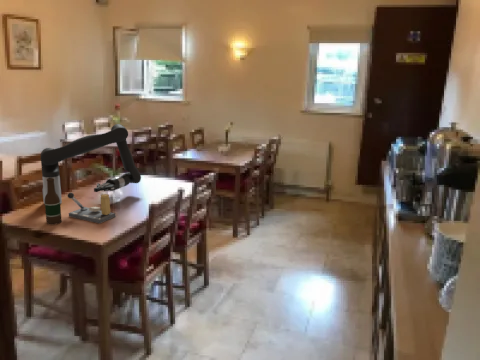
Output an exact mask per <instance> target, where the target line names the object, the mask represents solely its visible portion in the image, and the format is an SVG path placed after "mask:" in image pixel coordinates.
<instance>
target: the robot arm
mask: <svg viewBox="0 0 480 360" xmlns="http://www.w3.org/2000/svg"><path fill="white" fill-rule="evenodd" d="M128 137H129V131H128V130H127V128H126V127H125V126H124V125H122V124H120V123H117V124H116V123H115V124H114V125H113V126H111V129H110V131H107V132H104V133H100V134H99V133H98V134H97V133H96V134H89V135H85V136H83V137H80V138H77V139H74V140H73V141H71V142H68V143H67V144H66V145H63V146H61V147H56V148H51V147H46V148H44V149H43V150H41V152H40V164H41V166H40V167H41V174H42V199H43V204H44V205H45V196H46V194H47V178H54V187H55V192H56V193H57V195H58V196H59V199H60V205H61V204H62V202H63V200H62V189H61V177H60V166H59V163H60V162H62V161H65V160H67V159H69V158H73V157H76V156H80V155H83V154H86V153H89V152H91V151H92V152H93V151H95V150H97V149H101V148H102V147H106V146H108V145H112V144H116V146H117V149H118V152H119V155H120V159H121V162H122V166H123V169H124V170H125V171H127V172H125V173H124V174H121V175H119V176H114V177H112V178H108V179H107V180H106V181H105V182H103V183H102V184H100V183H97V184H96V187H94V188H93V192H94V193H98V192H108V191H109V192H114V191H116V190H119V189H122V188H124V187H126V186H128V185H129V184H139V183H140V182H141V179H142V175H141V173H140V171H139V170H138V167H136V165H135V160H134V158H133V157H134V156H133V155H132V152H131V150H130V147H129V146H128V141H127V138H128Z"/></svg>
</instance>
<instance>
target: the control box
mask: <svg viewBox="0 0 480 360" xmlns="http://www.w3.org/2000/svg"><path fill="white" fill-rule="evenodd" d="M83 207H84V208H83V209H81V208H78V209H76V210H73V211H70V212H69V213H68V217H70V218H73V219H78V220H84V221H88V222H92V223H96V224H102V223H104V222H106V221H109V220H112V219H113V218H114V219H115V218H116V213H115V212H111V211H110V214H108V215H104V214H102V211H101V210H100V211H96V212H94V211H89V208H90V207H87V206H83Z"/></svg>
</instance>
